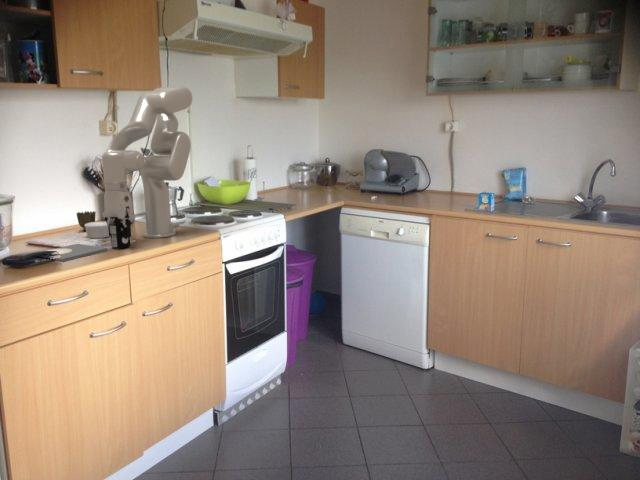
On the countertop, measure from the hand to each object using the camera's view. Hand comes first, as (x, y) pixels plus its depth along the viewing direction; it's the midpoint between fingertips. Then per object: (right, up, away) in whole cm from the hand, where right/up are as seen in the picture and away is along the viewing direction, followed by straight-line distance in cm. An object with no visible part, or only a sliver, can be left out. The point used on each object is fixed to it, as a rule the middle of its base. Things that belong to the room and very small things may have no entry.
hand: (120, 236), depth 204 cm
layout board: (-14, -6, -8) cm, 18 cm away
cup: (-25, +2, +33) cm, 41 cm away
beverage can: (0, -4, +1) cm, 4 cm away
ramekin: (-15, 0, +22) cm, 27 cm away
